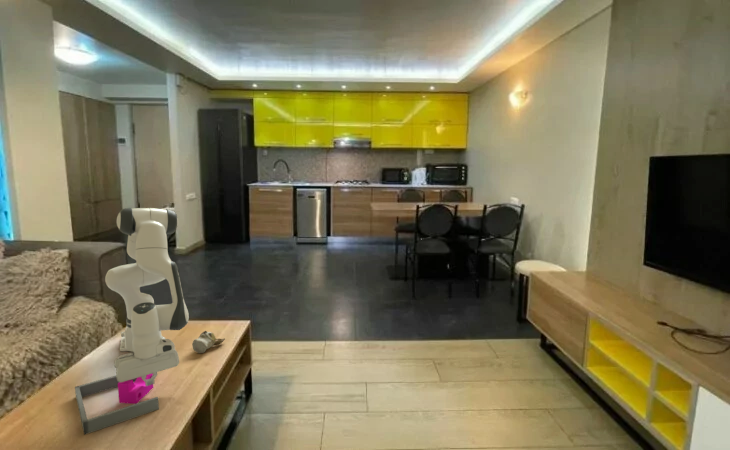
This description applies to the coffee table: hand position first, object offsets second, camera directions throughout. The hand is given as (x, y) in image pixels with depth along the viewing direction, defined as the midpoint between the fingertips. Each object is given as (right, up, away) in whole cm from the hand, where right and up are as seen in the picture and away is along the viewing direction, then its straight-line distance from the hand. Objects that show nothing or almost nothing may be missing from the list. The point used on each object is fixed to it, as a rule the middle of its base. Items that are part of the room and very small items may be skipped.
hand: (149, 384), depth 148 cm
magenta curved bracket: (-4, -4, +2) cm, 6 cm away
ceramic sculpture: (+6, +1, +38) cm, 38 cm away
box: (-8, -4, -5) cm, 11 cm away
